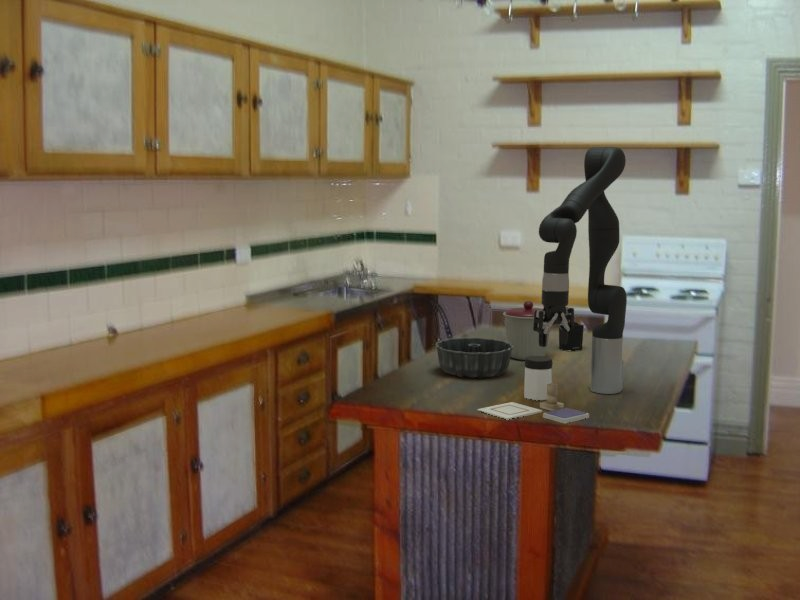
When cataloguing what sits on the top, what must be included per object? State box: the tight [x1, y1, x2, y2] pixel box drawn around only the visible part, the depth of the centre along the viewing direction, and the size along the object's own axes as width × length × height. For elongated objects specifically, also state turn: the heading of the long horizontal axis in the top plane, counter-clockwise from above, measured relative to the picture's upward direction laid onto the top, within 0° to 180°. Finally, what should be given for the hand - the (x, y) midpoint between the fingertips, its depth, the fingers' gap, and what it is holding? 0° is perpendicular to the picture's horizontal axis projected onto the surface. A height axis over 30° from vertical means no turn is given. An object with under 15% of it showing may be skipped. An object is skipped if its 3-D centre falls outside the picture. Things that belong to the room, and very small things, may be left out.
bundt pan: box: [435, 336, 514, 379], centre depth 314 cm, size 26×26×10 cm
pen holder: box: [558, 321, 585, 352], centre depth 358 cm, size 9×9×10 cm
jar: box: [523, 356, 554, 402], centre depth 281 cm, size 9×8×12 cm
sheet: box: [476, 401, 543, 421], centre depth 264 cm, size 14×12×1 cm
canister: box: [502, 300, 551, 361], centre depth 339 cm, size 18×18×21 cm
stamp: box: [539, 383, 565, 412], centre depth 267 cm, size 5×5×7 cm
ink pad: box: [542, 407, 590, 424], centre depth 258 cm, size 10×8×1 cm
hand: (553, 345), depth 265 cm, fingers open, 8 cm apart
